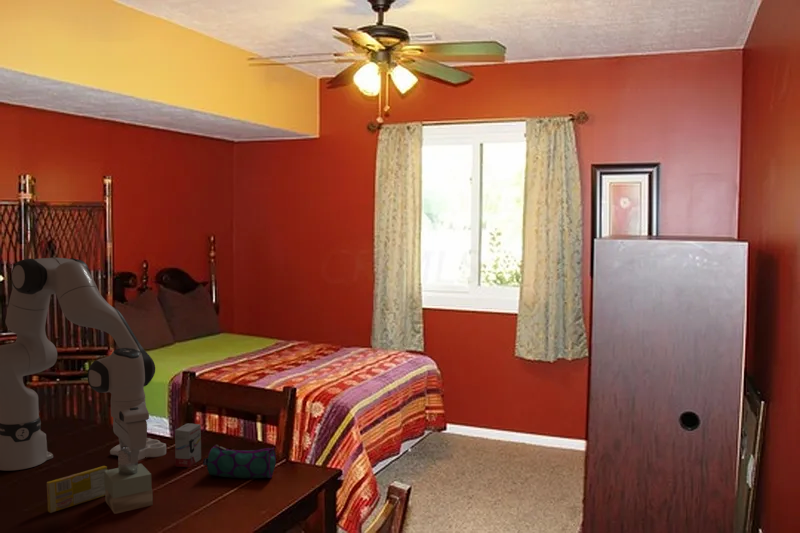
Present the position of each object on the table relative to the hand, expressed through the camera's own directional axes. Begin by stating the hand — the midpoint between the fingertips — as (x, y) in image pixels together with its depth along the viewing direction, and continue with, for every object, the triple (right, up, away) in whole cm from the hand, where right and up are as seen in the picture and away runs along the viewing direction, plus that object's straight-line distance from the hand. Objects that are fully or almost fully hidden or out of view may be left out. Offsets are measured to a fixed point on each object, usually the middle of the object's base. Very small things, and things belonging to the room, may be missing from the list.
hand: (129, 457), depth 190 cm
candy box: (-14, -13, +1) cm, 19 cm away
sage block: (-1, -9, +1) cm, 9 cm away
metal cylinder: (0, -4, 0) cm, 4 cm away
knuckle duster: (-13, -11, +42) cm, 46 cm away
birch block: (0, -13, +1) cm, 13 cm away
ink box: (+6, -11, +33) cm, 35 cm away
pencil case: (+26, -12, +21) cm, 36 cm away
